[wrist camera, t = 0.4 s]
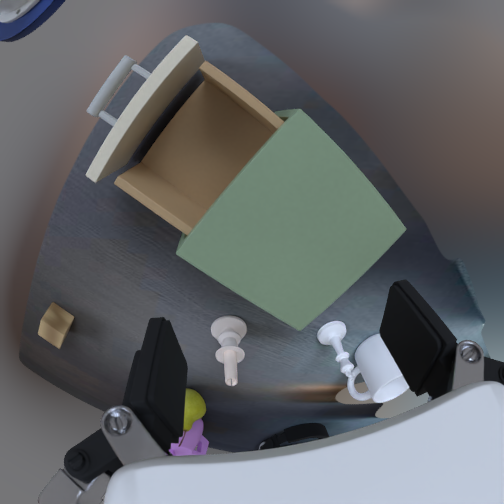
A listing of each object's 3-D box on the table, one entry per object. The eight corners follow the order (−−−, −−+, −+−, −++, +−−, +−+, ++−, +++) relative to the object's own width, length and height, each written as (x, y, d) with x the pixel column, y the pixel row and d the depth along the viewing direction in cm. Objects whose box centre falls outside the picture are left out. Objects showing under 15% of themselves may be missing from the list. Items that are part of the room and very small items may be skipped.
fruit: (189, 376, 44) (186, 435, 33) (213, 393, 47) (214, 447, 36) (162, 386, 45) (156, 441, 35) (186, 402, 48) (184, 453, 38)
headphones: (247, 469, 54) (303, 438, 50) (243, 446, 61) (294, 413, 57) (292, 472, 61) (344, 442, 57) (286, 453, 68) (334, 422, 64)
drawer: (90, 139, 24) (51, 150, 17) (165, 36, 20) (145, 11, 13) (215, 229, 30) (213, 265, 24) (297, 136, 26) (323, 143, 19)
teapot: (142, 385, 45) (134, 433, 35) (223, 417, 52) (226, 460, 42) (119, 405, 48) (110, 446, 39) (191, 434, 56) (190, 471, 46)
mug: (350, 376, 49) (366, 416, 40) (329, 363, 46) (346, 409, 37) (397, 341, 46) (420, 380, 37) (382, 324, 42) (408, 367, 33)
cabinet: (188, 213, 30) (175, 253, 22) (275, 111, 26) (300, 108, 17) (282, 279, 36) (300, 331, 27) (362, 197, 31) (406, 229, 23)
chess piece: (332, 316, 40) (355, 364, 31) (351, 327, 42) (374, 372, 33) (310, 336, 41) (328, 385, 33) (330, 345, 43) (348, 392, 34)
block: (48, 316, 35) (37, 334, 32) (52, 301, 34) (41, 319, 30) (68, 330, 37) (59, 349, 33) (74, 316, 36) (64, 335, 32)
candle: (207, 318, 38) (204, 376, 28) (243, 312, 38) (249, 370, 29) (215, 342, 40) (216, 398, 31) (249, 337, 40) (256, 393, 31)
